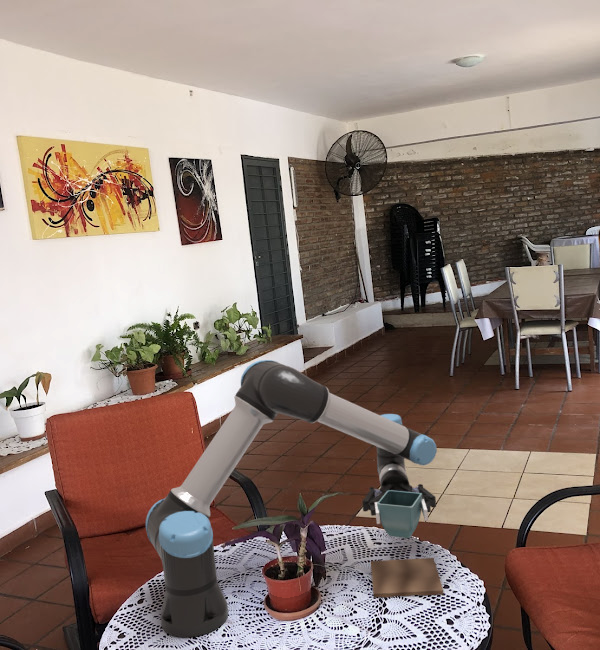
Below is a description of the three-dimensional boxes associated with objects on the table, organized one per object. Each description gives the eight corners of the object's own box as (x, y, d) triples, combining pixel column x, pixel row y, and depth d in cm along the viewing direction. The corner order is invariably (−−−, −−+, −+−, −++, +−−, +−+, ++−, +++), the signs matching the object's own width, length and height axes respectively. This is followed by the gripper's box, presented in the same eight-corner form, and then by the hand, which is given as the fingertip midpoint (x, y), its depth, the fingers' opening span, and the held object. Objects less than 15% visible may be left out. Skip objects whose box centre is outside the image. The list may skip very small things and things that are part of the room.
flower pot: (415, 543, 156) (412, 506, 155) (379, 539, 160) (376, 503, 159) (425, 527, 164) (422, 492, 163) (390, 524, 168) (387, 489, 167)
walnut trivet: (373, 597, 156) (373, 593, 156) (370, 564, 172) (370, 561, 172) (443, 594, 155) (443, 590, 155) (433, 561, 171) (433, 557, 171)
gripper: (438, 493, 179) (452, 529, 157) (352, 499, 180) (354, 535, 158) (437, 466, 178) (450, 498, 156) (350, 472, 179) (351, 504, 158)
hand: (402, 516), depth 157 cm, fingers closed on flower pot, 10 cm apart
